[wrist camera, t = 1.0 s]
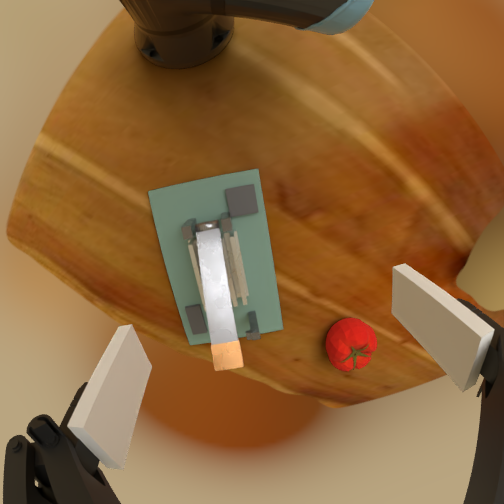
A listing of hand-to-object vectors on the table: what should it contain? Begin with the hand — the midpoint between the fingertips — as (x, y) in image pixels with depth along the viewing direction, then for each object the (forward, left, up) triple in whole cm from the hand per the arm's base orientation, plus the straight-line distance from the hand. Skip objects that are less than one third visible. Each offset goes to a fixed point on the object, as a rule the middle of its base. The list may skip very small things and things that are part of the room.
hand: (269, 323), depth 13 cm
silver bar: (+7, -4, -29) cm, 30 cm away
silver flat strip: (+7, -5, -19) cm, 21 cm away
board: (+6, -4, -30) cm, 31 cm away
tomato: (+24, +14, -30) cm, 41 cm away
